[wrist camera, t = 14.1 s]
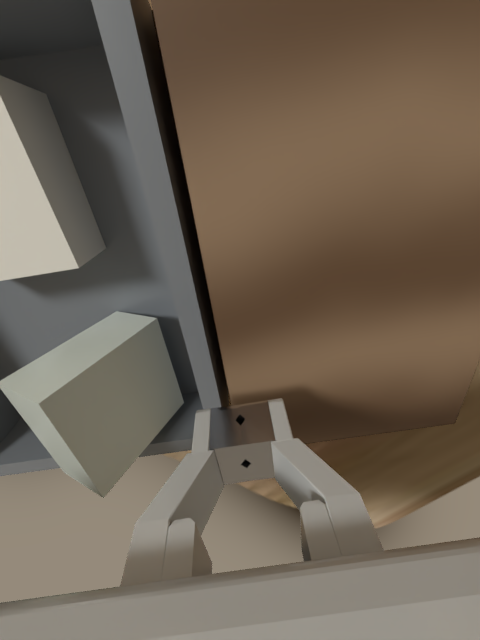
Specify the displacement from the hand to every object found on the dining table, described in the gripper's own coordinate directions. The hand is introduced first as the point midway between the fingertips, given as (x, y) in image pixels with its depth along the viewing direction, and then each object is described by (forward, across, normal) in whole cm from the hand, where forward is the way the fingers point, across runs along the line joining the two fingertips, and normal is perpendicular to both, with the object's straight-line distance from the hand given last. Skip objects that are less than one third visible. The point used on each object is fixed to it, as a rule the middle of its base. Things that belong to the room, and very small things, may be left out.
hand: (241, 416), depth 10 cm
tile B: (+1, +4, 0) cm, 5 cm away
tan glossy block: (+5, -5, -4) cm, 8 cm away
